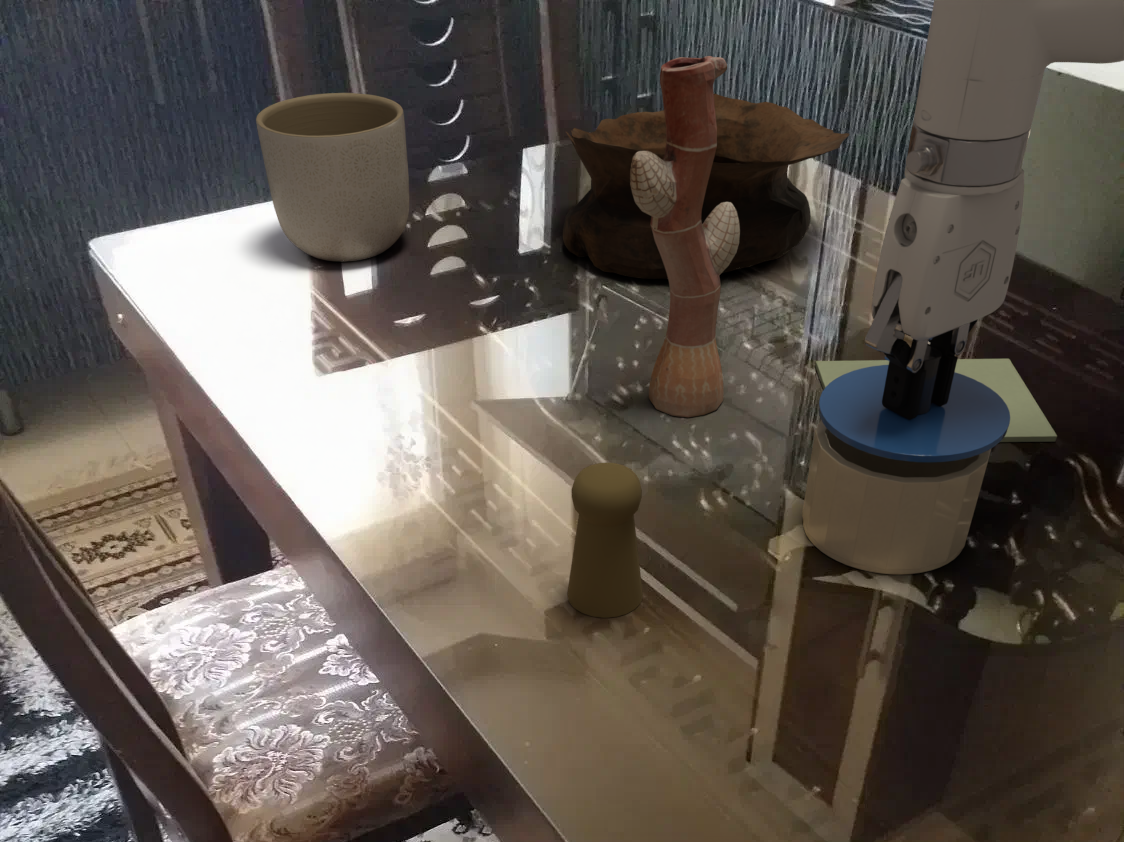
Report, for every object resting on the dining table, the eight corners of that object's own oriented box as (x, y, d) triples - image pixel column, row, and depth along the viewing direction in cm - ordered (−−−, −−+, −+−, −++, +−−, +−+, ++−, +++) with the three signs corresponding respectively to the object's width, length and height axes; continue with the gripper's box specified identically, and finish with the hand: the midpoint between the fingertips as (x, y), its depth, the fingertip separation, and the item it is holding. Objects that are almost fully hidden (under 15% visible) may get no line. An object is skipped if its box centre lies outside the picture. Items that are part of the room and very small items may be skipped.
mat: (1007, 363, 119) (1009, 358, 119) (1055, 441, 108) (1057, 436, 107) (814, 366, 119) (815, 360, 119) (842, 444, 108) (843, 438, 107)
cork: (629, 624, 89) (633, 501, 81) (556, 608, 90) (553, 486, 82) (652, 580, 93) (658, 459, 85) (581, 566, 94) (581, 445, 86)
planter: (426, 265, 139) (413, 129, 129) (285, 281, 136) (260, 142, 126) (405, 216, 151) (392, 87, 140) (275, 229, 148) (251, 99, 138)
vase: (721, 380, 117) (751, 44, 96) (734, 415, 112) (769, 68, 91) (618, 385, 117) (626, 48, 96) (627, 421, 111) (637, 72, 90)
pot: (943, 484, 102) (966, 395, 97) (984, 573, 93) (1012, 481, 87) (791, 486, 103) (804, 397, 97) (816, 575, 93) (832, 483, 87)
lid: (979, 375, 96) (995, 308, 92) (1030, 467, 86) (1051, 396, 82) (804, 380, 96) (812, 313, 92) (834, 472, 86) (845, 402, 82)
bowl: (503, 254, 146) (495, 121, 136) (682, 203, 163) (686, 82, 153) (705, 313, 125) (712, 162, 116) (886, 248, 142) (905, 111, 133)
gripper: (924, 196, 72) (876, 458, 85) (1089, 141, 78) (1020, 393, 91) (838, 165, 76) (804, 418, 89) (1000, 115, 82) (947, 358, 95)
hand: (914, 403), depth 90 cm, fingers closed on lid, 2 cm apart
